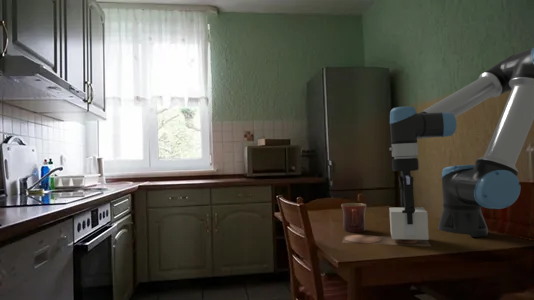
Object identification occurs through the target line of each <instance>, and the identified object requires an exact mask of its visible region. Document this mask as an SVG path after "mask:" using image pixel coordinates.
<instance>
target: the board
mask: <svg viewBox="0 0 534 300" xmlns="http://www.w3.org/2000/svg"><path fill="white" fill-rule="evenodd" d="M342 244H365V245H387V246H390V245H391V246H412V247H432V244H431V243H430V242H429V240H419V239H392V236H378V235H377V236H376V235H370V234H369V235H368V234H351V235H350V234H348V235H347V234H345V235H343V238H342Z"/></svg>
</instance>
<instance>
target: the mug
mask: <svg viewBox="0 0 534 300" xmlns="http://www.w3.org/2000/svg"><path fill="white" fill-rule="evenodd" d="M340 206H341V209H342V214H343V219H342V220H343V224H342V225H343V226H342V227H343V231H344V232H347V233H355V234H356V233H364V232H366V218H365V217H366V216H365V214H366V209H367V204H366V203H360V202H357V203H356V202H349V203H348V202H347V203H342V204H341V205H340Z"/></svg>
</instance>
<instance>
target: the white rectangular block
mask: <svg viewBox="0 0 534 300" xmlns="http://www.w3.org/2000/svg"><path fill="white" fill-rule="evenodd" d="M414 207H415V206H414ZM388 209H389V210H388V211H389V226H390V227H389V230H390V237H392V239H419V240H427V241H429V240H430V239H429V238H430V236H429V219H428V218H429V215H428V211H427V210H426V209H425V208H424V207H418V206H417V207H415V212H414V219H415V236H412V235H405V221H404V213H402V210H405V208H403V207H389V208H388Z"/></svg>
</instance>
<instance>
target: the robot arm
mask: <svg viewBox="0 0 534 300" xmlns="http://www.w3.org/2000/svg"><path fill="white" fill-rule="evenodd" d="M508 92H510V93H509V95H508V97H507V100H506V103H505V105H504V108H503V111H501V115H500V117H499V120H498V122H497V124H496V126H495V128H494V131H493V134H492V137H491V139H490V142H489V143H488V147H487V148H486V151H485V153H484V155H483V156H481V157H478V158H476V161H475V164H461V165H451V166H446V167H444V168H442V172H441V182H442V183H441V187H442V188H441V189H442V212H441V215H440V217H439V222H438V226H437V227H438V228H437V229H438V230H439V231H443V232H446V233H451V234H452V233H453V234H460V235H461V234H463V235H469V236H470V237H471V238H479V237H480V238H481V237H486V236H488V235H489V233H488V232H489V231H488V230H489V229H488V225H487V223H486V220H485V218H484V215H483V213H482V207H483V208H485V209H492V210H493V209H494V210H500V209H502V210H503V209H505V208H509V207H510V206H512V205H513V204H514V203H515V202H516V201H517V200H518V198H519V196H520V193H521V189H522V188H521V184H520V179H519V178H518V174H519V170H518V169H517V167H516V164H517V162H518V159H519V156H520V154H521V152H522V149H523V147H524V144H525V142H526V140H527V137H528V135H529V132H530V129H531V127H532V124H533V122H534V47H532V48H528V49H526V50H522V51H521V52H520V51H519V52H517V53H516V54H515V53H514V54H511V55H509V56H507V57H506V58H504V59H503V60H501V61H500V62H498V63H497V64H494V65H493V66H492V67H490V68H489V69H488V70H486V71H484V72H482V73H480V75H479V76H478V79H476V80H474V81H473V82H470V83H469V84H467V85H465V86H464V87H462V88H460V89H459V90H457V91H455V92H453V93H451V94H449V95H448V96H446V97H444V98H442V99H441V100H439V101H437V102H436V103H433V104H432V105H431V106H429V107H426V108H425V109H424V110H422V111H420V112H417V110H416V107H415V106H410V105H409V106H397V107H393V108H392V109H391V110H390V112H389V126H390V127H389V128H390V142H391V144H390V145H391V147H389V148H388V150H389V151H391V157H393V159H391V168H392V171H393V172H400V174H399V176H398V182H399V184H398V185H399V190H400V191H399V192H400V193H399V194H400V195H399V196H400V206H401V207H400V208H405V210H402V213H404V221H405V235H412V236H415V219H414V212H415V197H414V176H412V175H411V172H412V171H418V170H419V167H420V166H419V159H418V156H419V145H418V144H419V143H418V140H420V139H429V138H430V139H431V138H444V137H452V136H454V134H455V133H456V131H457V127H458V124H457V122H458V121H457V117H459V116H460V115H462V114H464V113H465V112H467V111H469V110H471V109H473V108H474V107H476V106H477V105H479V104H481V103H483V102H485V101H486V100H488V99H490V98H498V97H499V96H501V95H503V94H505V93H508Z"/></svg>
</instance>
